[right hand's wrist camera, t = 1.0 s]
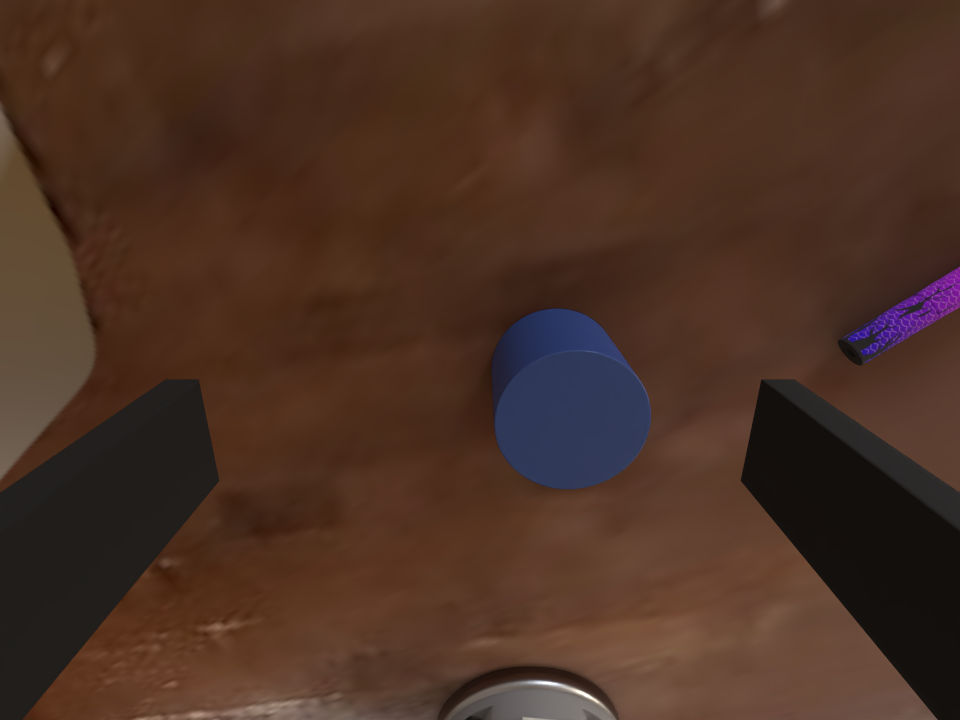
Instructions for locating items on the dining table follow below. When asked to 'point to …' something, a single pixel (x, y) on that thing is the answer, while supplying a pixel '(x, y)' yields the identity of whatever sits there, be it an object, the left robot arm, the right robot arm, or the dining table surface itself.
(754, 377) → the dining table surface
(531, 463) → the cylinder
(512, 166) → the dining table surface
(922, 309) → the handgun
